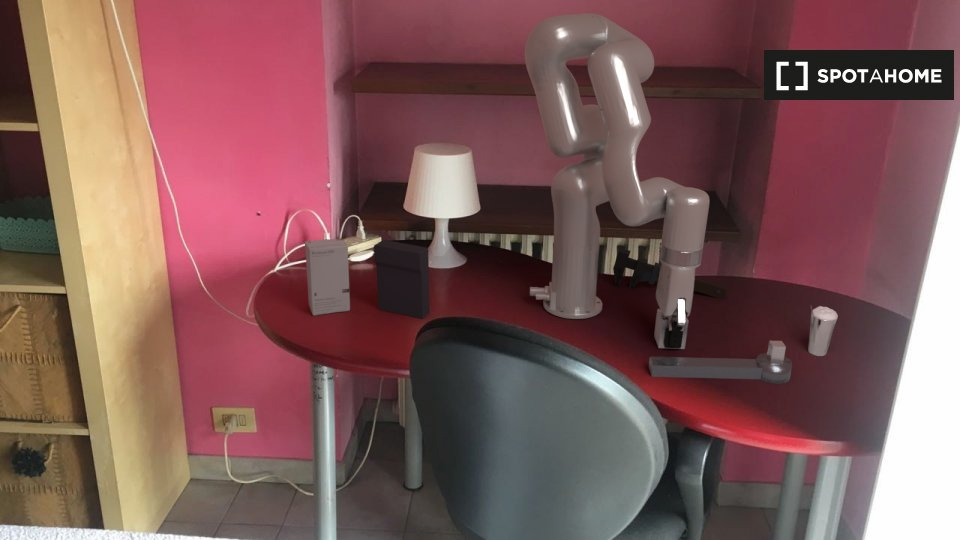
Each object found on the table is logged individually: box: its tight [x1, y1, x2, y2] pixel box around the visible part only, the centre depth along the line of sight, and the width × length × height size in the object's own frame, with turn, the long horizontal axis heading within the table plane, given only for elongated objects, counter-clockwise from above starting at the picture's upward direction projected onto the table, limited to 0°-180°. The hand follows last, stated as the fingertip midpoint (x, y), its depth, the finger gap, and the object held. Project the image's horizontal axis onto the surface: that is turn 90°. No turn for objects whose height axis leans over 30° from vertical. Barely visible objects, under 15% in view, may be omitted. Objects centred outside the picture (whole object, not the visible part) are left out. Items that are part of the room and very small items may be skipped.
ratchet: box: [648, 340, 793, 385], centre depth 137 cm, size 25×6×6 cm, turn 88°
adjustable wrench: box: [612, 247, 728, 299], centre depth 171 cm, size 8×3×25 cm
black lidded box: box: [373, 239, 431, 320], centre depth 158 cm, size 11×4×15 cm, turn 65°
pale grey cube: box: [653, 308, 689, 350], centre depth 147 cm, size 5×5×6 cm
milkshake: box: [807, 304, 839, 357], centre depth 144 cm, size 5×5×10 cm
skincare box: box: [304, 238, 351, 317], centre depth 159 cm, size 8×6×15 cm
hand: (669, 339), depth 148 cm, fingers closed on pale grey cube, 5 cm apart
